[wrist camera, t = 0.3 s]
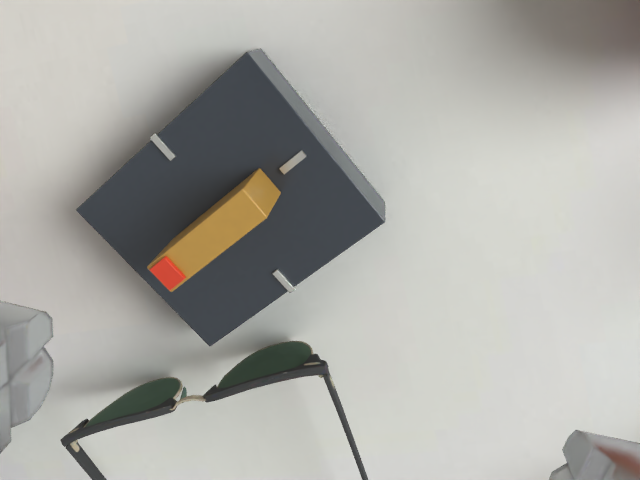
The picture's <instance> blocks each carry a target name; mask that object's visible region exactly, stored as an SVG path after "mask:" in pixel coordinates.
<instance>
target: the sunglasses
mask: <svg viewBox="0 0 640 480" xmlns="http://www.w3.org/2000/svg"><path fill="white" fill-rule="evenodd" d="M313 375H319V377H320V378H322V377H324V380H325V383H326V385H327V387H328V390H329V392H330V395H331V397H332V400H333V402H334V405H335V407H336V410H337V412H338V415H339V418H340V420H341V423H342V425H343V428H344V431H345V433H346V436H347V439H348V441H349V444H350V447H351V449H352V452H353V455H354V458H355V460H356V463H357V466H358V469H359V471H360V474H361V477H362V479H363V480H368V478H367V475H366V472H365V469H364V466H363V464H362V461H361V458H360V455H359V452H358V450H357V447H356V444H355V441H354V438H353V436H352V433H351V430H350V427H349V424H348V421H347V419H346V416H345V413H344V410H343V407H342V405H341V402H340V399H339V397H338V394H337V391H336V389H335V386H334V384H333V381H332V378H331V376H330V373H329V370H328V365H327V362H326V361H324V360H321V359H320V358H319V356H318V355H317V354H313V351H312V348H311V347H310V346H309V345H308V344H306V343H305V342H302V341H289V342H282V343H279V344H275V345H272V346H268V347H265V348H263V349H260V350H258V351H257V352H255V353H253V354H251V355H250V356H248V357H247V358H245V359H244V360H243V361H241V362H240V363H239V364H237V365H236V366H235V367H234V368H233V369H232V370H231V371H229V372H228V373H227V374H226V375H225V376H224V377H223V379H222V380H221V382H220V383H219V385H218V387H217V386H216V385H214V386H213V387H212V388H211V389H210V390H208V391H207V392H206V393H205V394H204V396H200V395H192V396H187V397H186V388H185V387H184V388H183V391H182V395H181V399H180V400H179V401H178V402H177V401H176V400H175V399H176V398H177V397H178V396H179V394H180V392H181V390H182V383H181V381H180V380H179V379H177V378H174V377H166V378H160V379H157V380H153V381H150V382H148V383H145V384H143V385H140V386H138V387H136V388H134V389H132V390H131V391H129V392H127V393H125V394H124V395H123V396H121V397H120V398H118V399H117V400H116V401H114V402H113V403H111V404H110V405H109V406H107V407H106V408H104V409H103V410H102V411H101V412H99V413H98V414H97V415H96V416H94V417H93V418H92V419H91V420H90V421H89V420H88V419H86V420H84V421H82V422H81V423H80V424H79V425H78V426H77V427H75V428H74V429H73V430H72V431H71V432H69V433H68V434H67V435H65V436H64V437H63V438H62V439H61V442H62V444H63V446H64V447H65V446H66V449H67V450H68V451H69V452H70V454H71V455H72V456H73V457H74V458H75V460H76V461H77V462H78V463H79V464H80V466H81V467H82V468H83V469H84V470H85V472H86V473H87V474H88V475H89V476H90V477H91V479H92V480H106V478H105V477H104V476H103V475H102V473H101V472H100V471H99V470H98V468H97V467H96V466H95V464H94V463H93V462H92V461H91V459H90V458H89V457H88V455H87V454H86V453H85V452H84V450H83V449H82V448H81V446H80V445H79V444H78V440H77V439H80V438H83V437H85V436H88V435H91V434H94V433H97V432H100V431H103V430H107V429H110V428H113V427H117V426H121V425H125V424H129V423H134V422H138V421H142V420H146V419H150V418H154V417H158V416H161V415H165V414H168V413H171V412H173V411H174V410H175V409H176V407H177V405H179V404H180V403H183V402H186V401H191V400H195V401H205V402H211V401H215V400H219V399H222V398H225V397H228V396H231V395H234V394H237V393H240V392H243V391H246V390H249V389H253V388H257V387H260V386H264V385H268V384H272V383H276V382H280V381H285V380H289V379H294V378H299V377H304V376H313Z"/></svg>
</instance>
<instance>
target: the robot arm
mask: <svg viewBox="0 0 640 480" xmlns="http://www.w3.org/2000/svg"><path fill="white" fill-rule="evenodd" d="M52 337H53V325H52V318H51V317H50V315H49V314H48V313H47V312H44V311H40V310H36V309H32V308H28V307H24V306H20V305H16V304H12V303H8V302H3V301H0V453H1V452H2V451H3V450H4V449H5V448H6V447H7V445H8V444H9V443H10V442H11V428H12V427H15V426H17V425H19V424H22V423H24V422H26V421H29V420H30V419H31V418H32V417H33V416H34V414H35V413H36V412H37V411H38V410H39V408H40V407H41V406H42V404H43V402H44V399H45V397H46V395H47V393H48V391H49V389H50V385H51V381H52V376H53V360H52V358H51V357H50V355H49V354H48V352H47V351H46V349H45V348H44V345H45V344H46V343H47V342H48V341H49V340H50V339H51V338H52ZM562 450H563V453H564V456H565V458H566V461H567V463H566V464H565V465H563V466H561V467H560V468H558V469H556V470H555V471H553V472H552V473H551V476H550V478H549V480H640V443H637V442H632V441H627V440H622V439H618V438H613V437H608V436H603V435H599V434H594V433H589V432H584V431H580V430H575V431H574V432H573V433H572V434H571V435H570V436H569V437H568V439H567V441H566V443H565V445H564V447H563V449H562Z"/></svg>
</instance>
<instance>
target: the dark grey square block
mask: <svg viewBox="0 0 640 480" xmlns="http://www.w3.org/2000/svg"><path fill="white" fill-rule="evenodd" d="M150 139H151V141H150V142H149V143H148V144H147V145H146V146H144V147H143V148H142V149H141V150H140V151H139V152H138V153H137V154H136V155H135V156H134V157H133V158H131V159H130V160H129V161H128V162H127V163H126V164H125V165H124V166H123V167H122V168H121V169H120V170H118V171H117V172H116V173H115V174H114V175H113V176H112V177H111V178H110V179H109V180H108V181H107V182H105V183H104V184H103V185H102V186H101V187H100V188H99V189H98V190H97V191H96V192H95V193H94V194H92V195H91V196H90V197H89V198H88V199H87V200H86V201H85V202H84V203H83V204H82V205H81V206H79V207H78V208H77V212H78V213H79V214H80V215H81V216H82V217H83V218H84V219H85V220H86V221H87V222H88V223H89V224H90V225H91V226H92V227H93V228H94V229H95V230H96V231H97V232H98V233H99V234H100V235H101V236H102V237H103V238H104V239H105V240H106V241H107V242H108V243H109V244H110V245H111V246H112V247H113V248H114V249H115V250H116V251H117V252H118V253H119V254H120V255H121V256H122V257H123V258H124V259H125V261H126V262H127V263H128V264H129V265H130V266H131V267H132V268H133V269H134V270H135V271H136V272H137V273H138V274H139V275H140V276H141V277H142V278H143V279H144V280H145V281H146V282H147V283H148V284H149V285H150V286H151V287H152V288H153V289H154V290H155V291H156V292H157V293H158V294H159V295H160V296H161V297H162V298H163V299H164V300H165V301H166V302H167V303H168V304H169V305H170V306H171V307H172V308H173V309H174V310H175V311H176V312H177V313H178V315H179V316H180V317H181V318H182V319H183V320H184V321H185V322H186V323H187V324H188V325H189V326H190V327H191V328H192V329H193V330H194V331H195V332H196V333H197V334H198V335H199V336H200V337H201V338H202V339H203V340H204V341H205V342H206V343H207V344H208V345H209V346H211V345H213V344H214V343H216V342H217V341H218V340H220V339H221V338H223V337H224V336H225V335H227V334H228V333H230V332H231V331H233V330H234V329H235V328H237V327H238V326H240V325H241V324H242V323H244V322H245V321H247V320H248V319H249V318H251V317H252V316H254V315H255V314H256V313H258V312H259V311H261V310H262V309H263V308H265V307H266V306H268V305H269V304H270V303H272V302H273V301H275V300H276V299H278V298H279V297H280V296H282V295H283V294H285V293H286V292H287V291H288V292H289V293H291V292H293V291H294V290H295V287H294V286H296V285H297V284H299V283H300V282H301V281H303V280H304V279H306V278H307V277H308V276H310V275H311V274H313V273H314V272H315V271H317V270H318V269H320V268H321V267H323V266H324V265H325V264H327V263H328V262H330V261H331V260H332V259H334V258H335V257H337V256H338V255H339V254H341V253H342V252H344V251H345V250H346V249H348V248H349V247H351V246H352V245H353V244H355V243H356V242H358V241H359V240H360V239H362V238H363V237H365V236H366V235H368V234H369V233H370V232H372V231H373V230H375V229H376V228H377V227H379V226H380V225H382V224H383V223H384V222H385V202H384V200H383V199H382V198H381V197H380V195H379V194H378V193H377V192H376V190H375V189H374V188H373V187H372V186H371V184H370V183H369V182H368V181H367V179H366V178H365V177H364V176H363V174H362V173H361V172H360V171H359V169H358V168H357V167H356V166H355V164H354V163H353V162H352V161H351V160H350V158H349V157H348V156H347V155H346V153H345V152H344V151H343V150H342V148H341V147H340V146H339V145H338V143H337V142H336V141H335V140H334V138H333V137H332V136H331V135H330V133H329V132H328V131H327V130H326V129H325V127H324V126H323V125H322V124H321V122H320V121H319V120H318V119H317V117H316V116H315V115H314V114H313V112H312V111H311V110H310V109H309V107H308V106H307V105H306V104H305V102H304V101H303V100H302V99H301V98H300V96H299V95H298V94H297V93H296V91H295V90H294V89H293V88H292V86H291V85H290V84H289V83H288V81H287V80H286V79H285V78H284V76H283V75H282V74H281V73H280V72H279V70H278V69H277V68H276V67H275V65H274V64H273V63H272V62H271V60H270V59H269V58H268V57H267V55H266V54H265V53H264V52H263V50H262V49H257V50H253V51H250V52H246V53H245V54H244V55H243V56H242V57H241V58H240V59H239V60H238V61H236V62H235V63H234V64H233V65H232V66H231V67H230V68H229V69H228V70H227V71H226V72H225V73H224V74H222V75H221V76H220V77H219V78H218V79H217V80H216V81H215V82H214V83H213V84H212V85H211V86H209V87H208V88H207V89H206V90H205V91H204V92H203V93H202V94H201V95H200V96H199V97H198V98H196V99H195V100H194V101H193V102H192V103H191V104H190V105H189V106H188V107H187V108H186V109H185V110H183V111H182V112H181V113H180V114H179V115H178V116H177V117H176V118H175V119H174V120H173V121H172V122H170V123H169V124H168V125H167V126H166V127H165V128H164V129H163V130H162V131H161V132H160V133H159V134H156V133H155V134H153V135H152V136H151V137H150ZM258 168H260V169H261V170H262V171H263V172H264V173H265V174H266V176H267V177H268V178H269V179H270V180H271V181H272V183H273V184H274V185H275V186H276V187H277V188H278V190H279V191H280V192H281V194H280V196H279V198H278V199H277V201H276V203H275V205H274V206H273V208H272V210H271V212H270V213H269V215H268V217H267V218H266V219H265V220H264V221H262V222H261V223H260V224H259V225H257V226H256V227H255V228H253V229H252V230H251V231H250V232H248V233H247V234H246V235H244V236H243V237H242V238H241V239H239V240H238V241H237V242H235V243H234V244H233V245H232V246H230V247H229V248H228V249H226V250H225V251H224V252H223V253H221V254H220V255H219V256H217V257H216V258H215V259H214V260H212V261H211V262H210V263H209V264H207V265H206V266H205V267H203V268H202V269H201V270H200V271H198V272H197V273H196V274H194V275H193V276H192V277H191V278H189V279H188V280H187V281H185V282H184V283H183V284H182V285H180V286H179V287H178V288H176V289H175V290H174V291H173V292H170V291H169V290H168V289H167V288H166V287H165V286H164V285H163V284H162V283H161V282H160V281H159V280H158V279H157V278H156V277H155V276H154V275H153V274H152V273H151V272H150V271H149V270H148V268H147V266H148V265H149V264H150V263H151V262H152V261H153V260H154V259H155V258H156V257H157V255H158V254H159V253H160V252H161V251H162V250H163V249H164V248H165V247H166V246H167V245H168V244H169V243H170V242H171V240H172V239H173V238H174V237H176V236H177V235H178V234H179V233H181V232H182V231H183V230H184V229H185V228H187V227H188V226H189V225H190V224H191V223H193V222H194V221H195V220H196V219H198V218H199V217H200V216H201V215H202V214H204V213H205V212H206V211H207V210H208V209H210V208H211V207H212V206H213V205H215V204H216V203H217V202H218V201H219V200H221V199H222V198H223V197H224V196H225V195H227V194H228V193H229V192H230V191H232V190H233V189H234V188H235V187H236V186H238V185H239V184H240V183H241V182H242V181H244V180H245V179H246V178H247V177H249V176H250V175H251V174H252V173H253V172H255V171H256V170H257V169H258Z"/></svg>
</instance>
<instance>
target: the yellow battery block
mask: <svg viewBox="0 0 640 480" xmlns="http://www.w3.org/2000/svg"><path fill="white" fill-rule="evenodd" d="M280 194H281V192H280V191H279V190H278V188H277V187H276V186H275V185H274V184H273V183H272V181H271V180H270V179H269V178H268V177H267V176H266V174H265V173H264V172H263V171H262V170H261V169H260V168H258V169H257V170H256V171H255V172H253V173H252V174H251V175H250V176H249V177H247V178H246V179H245V180H244V181H242V182H241V183H240V184H239V185H238V186H236V187H235V188H234V189H233V190H232V191H230V192H229V193H228V194H227V195H225V196H224V197H223V198H222V199H221V200H219V201H218V202H217V203H216V204H215V205H213V206H212V207H211V208H210V209H208V210H207V211H206V212H205V213H204V214H202V215H201V216H200V217H199V218H198V219H196V220H195V221H194V222H193V223H191V224H190V225H189V226H188V227H187V228H185V229H184V230H183V231H182V232H181V233H179V234H178V235H177V236H176V237H174V238H173V239H172V240H171V242H170V243H169V244H168V245H167V246H166V247H165V248H164V249H163V250H162V251H161V252H160V253H159V254H158V255H157V257H156V258H155V259H154V260H153V261H152V262H151V263H150V264H149V265H148V266H147V268H148V270H149V271H150V272H151V273H152V274H153V275H154V276H155V277H156V278H157V279H158V280H159V281H160V282H161V283H162V284H163V285H164V286H165V287H166V288H167V289H168V290H169V291H170V292H173V291H174V290H175V289H176V288H178V287H179V286H180V285H182V284H183V283H184V282H185V281H187V280H188V279H189V278H191V277H192V276H193V275H194V274H196V273H197V272H198V271H200V270H201V269H202V268H203V267H205V266H206V265H207V264H209V263H210V262H211V261H212V260H214V259H215V258H216V257H217V256H219V255H220V254H221V253H223V252H224V251H225V250H226V249H228V248H229V247H230V246H232V245H233V244H234V243H235V242H237V241H238V240H239V239H241V238H242V237H243V236H244V235H246V234H247V233H248V232H250V231H251V230H252V229H253V228H255V227H256V226H257V225H259V224H260V223H261V222H262V221H264V220H265V219H266V218H267V217H268V215H269V213H270V212H271V210H272V208H273V206H274V205H275V203H276V201H277V199H278V198H279V196H280Z"/></svg>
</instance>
